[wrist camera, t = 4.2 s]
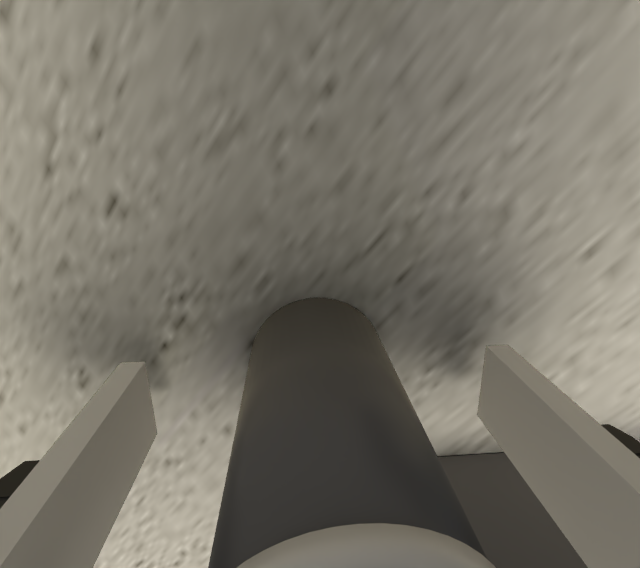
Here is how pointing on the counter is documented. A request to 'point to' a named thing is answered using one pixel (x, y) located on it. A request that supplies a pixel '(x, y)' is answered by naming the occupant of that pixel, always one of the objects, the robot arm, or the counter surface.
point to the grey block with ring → (507, 514)
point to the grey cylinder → (334, 457)
